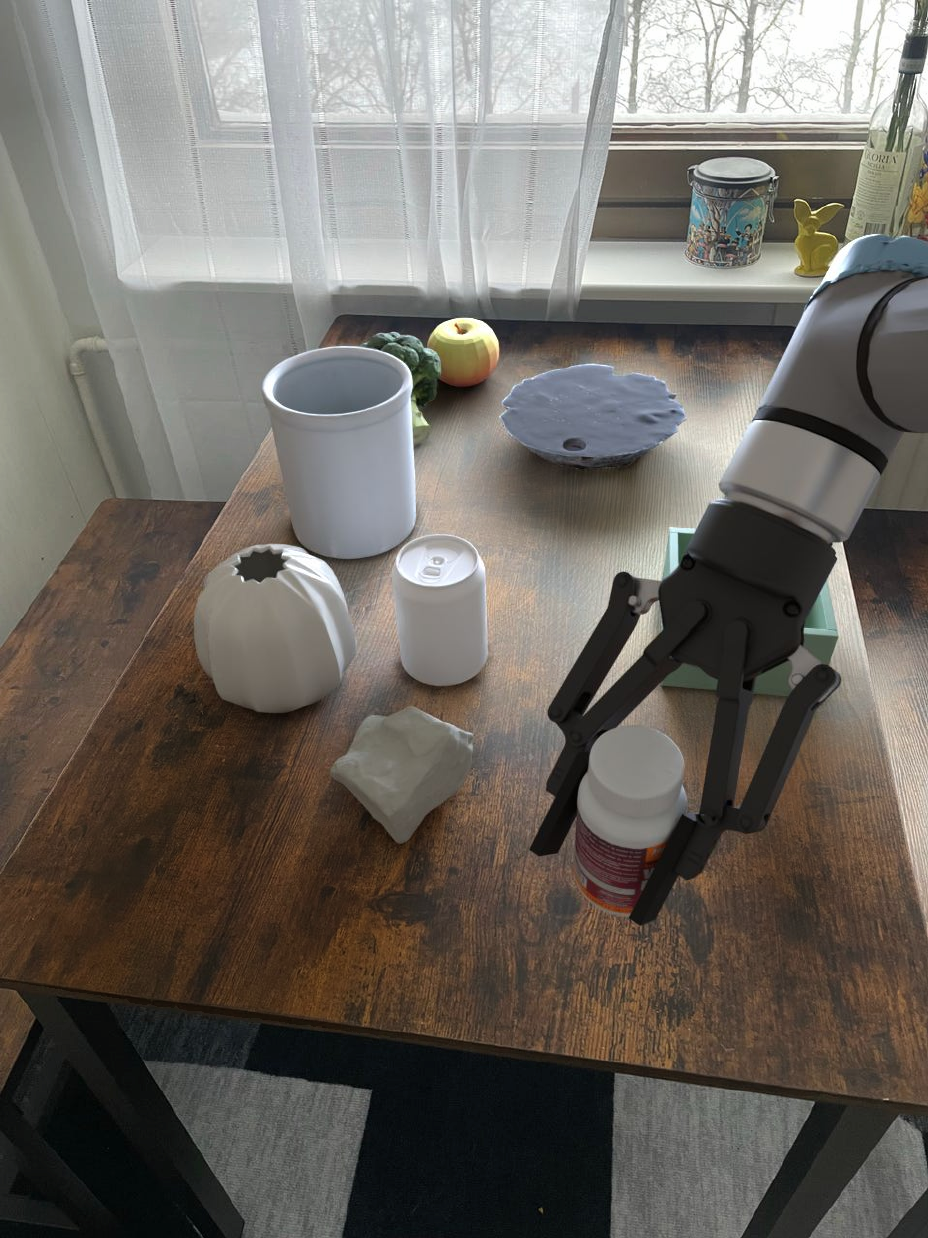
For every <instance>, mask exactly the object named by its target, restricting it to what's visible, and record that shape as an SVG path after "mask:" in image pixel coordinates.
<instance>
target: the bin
mask: <svg viewBox="0 0 928 1238" xmlns="http://www.w3.org/2000/svg"><path fill="white" fill-rule="evenodd" d="M696 529H697V528H686V527H673V526H671V527H668V534H667V540H666V541H667V542H666V548H665V549H666V551H665V556H664V562H663V569H662V578H661V581H662V580H663V579H664V578H665V577H666V576H667V575H669V574H670V573H671V572H673V571H674V570H675V569H676V568H677V567H678V565H679V564H680V562H681V560H682V558H683V555H684V553H685V551H686V549H687V547H688V545H689V543H690V541H691V539H692V537H693V535H694V533H695V531H696ZM831 597H832V596H831V592H830V588H829V583H828V579H827V580H826V582H825V584H824V586H823V588H822V590H821V592H820V594H819V596H818V598H817V600H816V602H815V604H814V605H813V607H812V609H811V611H810V613H809V615H808V617H807V619H806V622H805V626H804V645H803V647H804V648H805V649H806V650H808V651H809V652H810V653H811V654H812V655H814V656H815V657H816V658H817V659H818V660H820V661H821V662H822V663H823V664H826V665H828V666H830V664H831V660H832V657H833V655H834V652H835V648H836V645H837V642H838V639H839V633H838V627H837V622H836V618H835V613H834V612H835V611H834V607H833V603H832V598H831ZM662 630H663V624H662V617H661V616H660V632H661V631H662ZM791 671H792V664H791V662H790V660H789V661H787V662H785V663H783V664H781V665H779V666H777V667H775V668H773V669H771V670H769V671H767V672H765V673H763V674H761V675H759V676H757V677H756V682H755V688H754V694H757V695H768V696H769V695H770V696H779V697H788V696H789V695H790V693H791V692H792V689H791V688H790V686H789V684H788V677H789V675H790V673H791ZM717 683H718V680H717V679H715V678H713V677H711V676H709V675H707V674H706V673H705V672H704V671H703V670H702V669H701V668H698V667H693V666H691V665H688V664H685V663H683V664H682V665H681V666H680V667H679V668H678V669H677V670H675V671H674V672H672V673H670V674H669V675H668V676H667V677H666V678H665V679H664V680H663V681H662V682H661V683H660V686H662V687H675V688H684V689H685V688H686V689H687V688H688V689H696V690H697V689H698V690H707V691H708V690H709V691H716V689H717Z"/></svg>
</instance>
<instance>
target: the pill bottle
mask: <svg viewBox="0 0 928 1238" xmlns="http://www.w3.org/2000/svg"><path fill="white" fill-rule="evenodd" d="M684 774H685V760H684V756H683V754H682V751H681V750H680V748H679V746H678V745H677V744H676V743H675V742H674V741H673V739H671V738H670V737H669V736H667V735H666V734H665V733H662V732H661V731H660V730H657V729H654V728H653V727H649V726H646V725H645V726H644V725H636V724H629V725H621V726H617V727H616V728H614V729H611V730H609V731H607V732H605V733H604V734H602V735H601V736H600V737H599V738H598V739H597V740H596V742H595V743H594V745H593V747H592V749H591V752H590V757H589V767H588V771H587V772H586V773H585V775H584V777H583V778H582V781H581V783H580V786H579V791H578V798H577V816H576V821H575V822H576V823H575V837H574V838H575V839H574V848H573V849H574V850H573V865H572V866H573V867H572V868H573V869H572V870H573V878H574V881H575V883H576V886H577V888H578V890H579V892H580V893H581V894H582V896H583V897H584V898H585V899H586V901H588V902H589V903H590V904H591V905H592V906H594V907H595V908H596V909H598V910H599V911H602V912H604V913H606V914H609V915H612V916H615V917H622V918H629V916H630V914H631V912H632V910H633V908H634V906H635V904H636V902H637V900H638V899H639V897H640V895H641V893H642V891H643V889H644V887H645V885H646V883H647V881H648V879H649V877H650V875H651V873H652V872H653V870H654V868H655V866H656V864H657V862H658V860H659V858H660V856H661V854H662V852H663V850H664V848H665V846H666V844H667V843H668V841H669V839H670V837H671V835H672V833H673V831H674V829H675V827H676V825H677V823H678V821H679V819H680V817H681V816H682V814H687V811H688V799H687V794H686V791H685V788H684V785H683V781H684V776H685V775H684Z"/></svg>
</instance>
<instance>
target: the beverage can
mask: <svg viewBox="0 0 928 1238" xmlns="http://www.w3.org/2000/svg"><path fill="white" fill-rule="evenodd" d="M390 579H391V587H392V596H393V604H394V612H395V614H394V615H395V619H396V620H395V621H396V629H397V638H398V647H399V655H400V663H401V665H402V667H403V669H404V670H405V672H406V673H407V674H408V675H409V676H410V677H411V678H413V679H415V680H416V681H418V682H420V683H423V684H426V685H428V686H429V685H430V686H434V687H449V686H455V685H459V684H462V683H465V682H467V681H469V680H471V679H472V678H474V677H475V676H477V675H478V674H479V673H480V672H481V671H482V670H483V668H484V667H485V665H486V663H487V660H488V654H489V653H488V652H489V651H488V620H487V618H488V617H487V585H486V568H485V564H484V561H483V559H482V558H481V556H480V555H479V551H478V550H477V548H476V547H475V546H474V545H473V544H472V543H471V542H469V541H468V540H466V539H464V538H462V537H459V536H456V535H453V534H452V535H451V534H443V533H439V534H438V533H437V534H428V535H424V536H421V537H418V538H415V539H413V540H411V541H409V542H408V543H406V544H404V545H403V546H402V547H401V548H400V550H399V551H398V553H397V555H396V556H395V562H394V563H393V566H392V568H391V573H390Z"/></svg>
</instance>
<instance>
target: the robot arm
mask: <svg viewBox="0 0 928 1238" xmlns="http://www.w3.org/2000/svg"><path fill="white" fill-rule="evenodd" d="M802 312H803V313H802V316H801V318H800V319H799V322H798V324H797V326H796V328H795V330H794V332H793V335H792V337H791V339H790V341H789V343H788V344H787V347H786V349H785V351H784V353H783V355H782V357H781V359H780V361H779V363H778V365H777V367H776V369H775V372H774V374H773V376H772V377H771V379H770V382H769V384H768V386H767V388H766V390H765V392H764V394H763V396H762V398H761V400H760V402H759V404H758V406H757V409H756V411H755V414H754V416H753V418H752V420H751V422H750V423H749V424H748V426H747V428H746V430H745V432H744V434H743V436H742V438H741V440H740V442H739V444H738V446H737V448H736V449H735V451H734V453H733V456H732V457H731V459H730V461H729V463H728V465H727V467H726V469H725V471H724V473H723V475H722V477H721V478H720V480H719V483H718V486H719V489H720V492H721V493H722V494H723V495H724V496H723V498H715V499H714V501H710V502H708V504H707V506H706V509H705V511H704V513H703V514H702V517H701V518H700V521H699V523H698V525H697V526H696V528H695V529H696V531H695V533H694V535H693V537H692V539H691V541H690V543H689V545H688V547H687V549H686V551H685V553H684V555H683V558H682V560H681V562H680V564H679V565H678V567H677V568H676V569H675V570H674V571H673V572H671V573H670V574H669V575H667V576H666V577H665V578H664V579H663V580H662V579H661V580H658V579H657V580H656V579H649V578H641V577H636V576H635V575H633V574H632V573H630V572H628V571H619V572H617V574H615V576H614V577H613V579H612V584H611V589H610V592H609V593H610V594H609V598H608V603H607V608H606V609H605V611H604V613H603V614H602V616H601V618H600V620H599V621H598V623H597V625H596V627H594V630H593V632H591V635H590V637H589V638H588V640H587V641H586V643H585V645H584V647H583V649H582V650H581V652H580V653H579V655H578V657H577V659H576V660H575V662H574V663H573V665H572V667H571V669H570V671H569V672H568V674H567V675H566V677H565V679H564V680H563V683H562V684H561V686H560V687H559V689H558V691H557V693H556V694H555V696H554V697H553V699H552V701H551V702H550V704H549V705H548V709H547V711H546V712H547V718H548V719H549V720H550V721H551V722H552V723H555V724H556V726H557V727H558V728H559V729H560V730H561V731H562V733H563V735H564V739H565V742H564V746H563V748H562V750H561V752H560V754H559V756H558V758H557V760H556V762H555V764H554V766H553V768H552V770H551V773H550V774H549V775H548V778H547V779H546V784H545V791H546V792H547V793H548V794H550V795H552V796H553V797H554V799H553V801H552V803H551V805H550V807H549V808H548V811H547V813H546V814H545V817H544V819H543V820H542V822H541V825H540V826H539V829H538V831H537V833H536V835H535V837H534V839H533V840H532V842H531V844H530V846H529V848H528V850H529V851H530V852H532V853H533V854H534V855H536V856H537V857H545V856H551V855H557V854H559V852H560V850H561V848H562V846H563V844H564V842H565V840H566V839H567V836H568V834H569V832H570V830H571V828H572V826H573V825H574V822H575V820H576V819H577V798H578V791H579V786H580V783H581V781H582V778H583V777H584V775H585V773H586V772H587V771H588V767H589V757H590V752H591V749H592V747H593V745H594V743H595V742H596V740H597V739H598V738H599V737H600V736H601V735H602V734H604V733H605V732H607V731H609V730H611V729H614V728H617V727H619V725H620V724H621V723H623V721H624V720H625V719H626V718H628V716H630V714H632V712H633V711H635V709H636V708H638V706H640V704H642V702H643V701H645V699H646V698H647V697H648V696H649V695H650V694H652V692H653V691H654V690H655V689H656V688H658V686H659V685H661V682H662V681H663V680H664V679H665V678H666V677H667V676H668V675H669V674H670V673H672V672H674V671H675V670H677V669H678V668H679V667H680V666H681V665H682V664H683V663H685V664H688V665H691V666H693V667H698V668H701V669H702V670H703V671H704V672H705V673H706V674H707V675H709V676H711V677H713V678H715V679H717V680H718V683H717V689H716V690H715V697H716V705H715V712H714V718H713V724H712V729H711V736H710V741H709V742H710V744H709V750H708V754H707V755H708V756H707V762H706V767H705V774H704V781H703V786H702V792H701V800H700V806H699V811H698V812H689V813H688V812H686V814H682V816H681V817H680V819H679V821H678V823H677V825H676V827H675V829H674V831H673V833H672V835H671V837H670V839H669V841H668V843H667V844H666V846H665V848H664V850H663V852H662V854H661V856H660V858H659V860H658V862H657V864H656V866H655V868H654V870H653V872H652V873H651V875H650V877H649V879H648V881H647V883H646V885H645V887H644V889H643V891H642V893H641V895H640V897H639V899H638V900H637V902H636V904H635V906H634V908H633V910H632V912H631V914H630V916H629V917H628V919H629V920H630V921H632V922H634V923H635V924H637V925H638V926H639V927H640V926H643V925H646V924H648V923H651V922H654V921H656V920H657V918H658V916H659V914H660V912H661V910H662V908H663V906H664V905H665V902H666V900H667V899H668V897H669V895H670V893H671V891H672V890H673V887H674V885H675V883H676V881H677V879H678V877H680V878H682V879H684V880H685V881H688V882H689V881H690V880H693V879H695V878H697V877H698V876H699V875H701V874H702V873H703V871H704V869H705V867H706V865H707V863H708V862H709V860H710V858H711V856H712V854H713V851H714V850H715V848H716V846H717V844H718V842H719V840H720V838H721V837H722V835H723V834H724V832H726V831H731V832H737V833H741V834H745V835H752V834H756V833H761V832H763V831H764V830H765V829H766V828H767V826H768V824H769V822H770V820H771V818H772V815H773V813H774V810H775V807H776V805H777V803H778V800H779V798H780V796H781V794H782V792H783V789H784V787H785V784H786V782H787V781H788V780H787V779H788V778H789V776H790V773H791V771H792V769H793V766H794V763H795V761H796V759H797V757H798V754H799V751H800V750H801V747H802V745H803V743H804V740H805V738H806V736H807V733H808V731H809V729H810V727H811V724H812V722H813V719H814V717H815V714H816V712H817V710H818V709H819V708H820V707H821V706H822V705H823V704H824V703H825V702H826V701H827V700H828V699H829V698H830V697H831V696H832V695H833V694H834V693H835V691H837V689H838V688H840V686H841V684H842V676H841V673H839V672H838V671H837V670H836V669H835V668H833V667H831V666H830V665H829V666H828V665H826V664H823V663H822V662H821V661H820V660H818V659H817V658H816V657H815V656H814V655H812V654H811V653H810V652H809V651H808V650H806V649H805V648H804V647H803V645H804V626H805V622H806V619H807V617H808V615H809V613H810V611H811V609H812V607H813V605H814V604H815V602H816V600H817V598H818V596H819V594H820V592H821V590H822V588H823V586H824V584H825V582H826V580H827V581H828V578H829V576H830V575H831V573H832V571H833V568H834V567H835V565H836V563H837V561H838V557H837V555H836V554H837V551H836V549H835V548H833V545H834V543H835V544H836V543H837V544H838V543H839V544H840V543H843V542H846V541H847V540H849V538H850V536H851V535H852V532H853V530H854V529H855V526H857V525H856V524H857V523H858V520H859V519H860V517H861V515H862V513H863V512H864V509H865V508H866V505H867V503H868V502H869V500H870V498H871V496H872V495H873V492H874V490H875V488H876V486H877V484H878V482H879V480H880V478H881V476H882V475H883V473H884V472H885V469H886V468H887V465H888V463H889V459H890V458H891V456H892V455H893V453H894V451H895V449H896V447H897V445H898V444H899V442H900V440H901V438H902V437H903V435H904V433H909V434H910V433H911V434H912V433H913V434H928V241H926V240H923V239H921V238H917V237H912V236H908V235H900V236H898V237H892V236H889V235H886V234H884V233H876V234H868V235H864V236H861V237H858V238H856V239H854V240H852V241H851V242H849V243H848V244H846V245H845V246H844V247H843V248H842V249H841V250H840V251H839V252H838V253H837V255H836V257H835V258H834V260H833V262H832V263H831V265H830V267H829V269H828V271H827V272H826V274H825V276H824V278H823V279H822V281H821V283H820V285H819V286H818V287H817V288H815V290H813V293H812V296H810V297H809V299H808V300H807V303H806V305H805V306H804V308H803V311H802ZM656 602H658V603H659V609H660V618H661V617H662V624H663V630H662V631H661V630H660V632H659V633H658V634H657V635H656V636H655V637H654V638H653V639H652V641H650V642H649V643H648V644H647V645H646V647H645V648H644V649H643V651H642V654H641V655H640V657H639V658H638V659H637V660H636V661H635V662H634V663H633V664H632V665H631V666H630V667H629V668H628V669H627V670H626V671H625V672H624V673H623V674H622V675H621V676H620V678H618V679H617V680H616V681H615V683H613V684H612V685H611V686H610V687H609V689H607V691H605V693H603V695H602V696H601V697H600V698H599V699H598V700H597V701H596V702H595V703H594V704H593V705H592V706H591V707H590V708H589V706H590V705H591V702H592V701H593V699H594V698H595V696H596V694H597V693H598V692H599V689H600V688H601V686H602V684H603V683H604V681H605V680H606V677H607V676H608V674H609V673H610V671H611V669H612V668H613V666H614V664H615V662H617V661H616V660H617V659H618V657H619V655H620V654H621V652H622V650H623V649H624V647H625V646H626V644H627V642H628V641H629V639H630V638H631V636H632V634H633V633H634V631H635V629H636V627H637V625H638V622H639V620H640V618H641V616H643V615H646V614H647V613H649V611H650V610H651V608H652V606H653V605H654V603H656ZM789 660H790V662H791V664H792V671H791V673H790V675H789V677H788V684H789V686H790V688H791V689H792V692H791V693H790V695H789V696H787V697H786V700H785V701H784V704H783V705H782V707H781V710H780V712H779V714H778V716H777V720H776V721H775V724H774V726H773V729H772V731H771V733H770V736H769V737H768V741H767V743H766V745H765V747H764V749H763V752H762V754H761V756H760V759H759V762H758V764H757V767H756V768H755V770H754V773H753V775H752V777H751V781H750V783H749V785H748V787H747V789H746V792H745V793H744V794H745V795H744V797H743V799H742V802H741V804H740V806H736V805H735V801H736V795H737V788H738V782H739V775H740V770H741V765H742V764H741V763H742V757H743V750H744V744H745V738H746V732H747V725H748V719H749V713H750V707H751V705H752V703H753V700H754V694H755V693H754V688H755V682H756V677H757V676H759V675H761V674H763V673H765V672H767V671H769V670H771V669H773V668H775V667H777V666H779V665H781V664H783V663H785V662H787V661H789ZM588 708H589V709H588ZM587 709H588V710H587Z"/></svg>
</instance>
